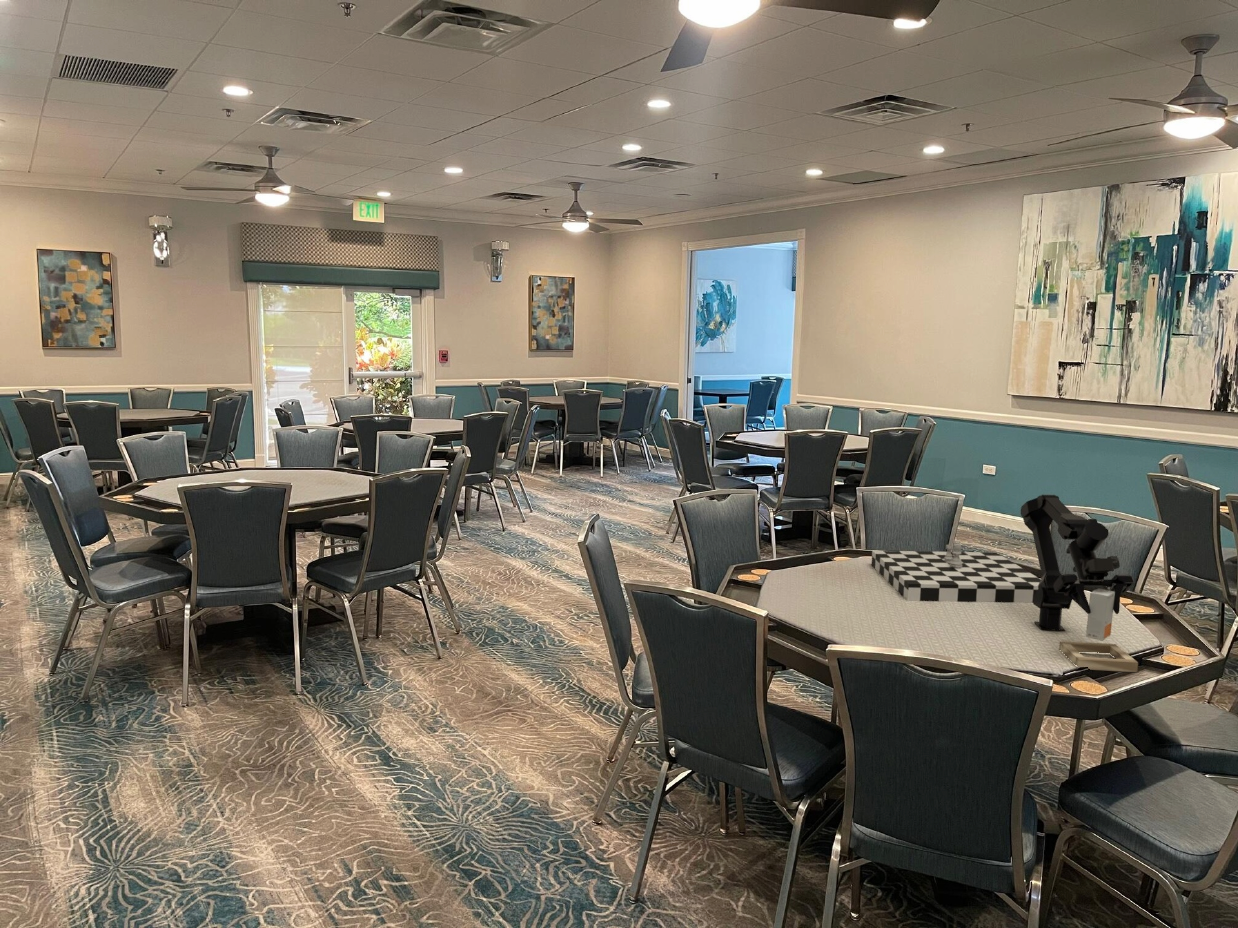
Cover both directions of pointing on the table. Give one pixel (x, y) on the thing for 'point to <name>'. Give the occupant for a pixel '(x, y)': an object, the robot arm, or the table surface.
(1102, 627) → the skincare box
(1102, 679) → the table surface
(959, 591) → the checkerboard
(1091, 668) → the wooden picture frame
